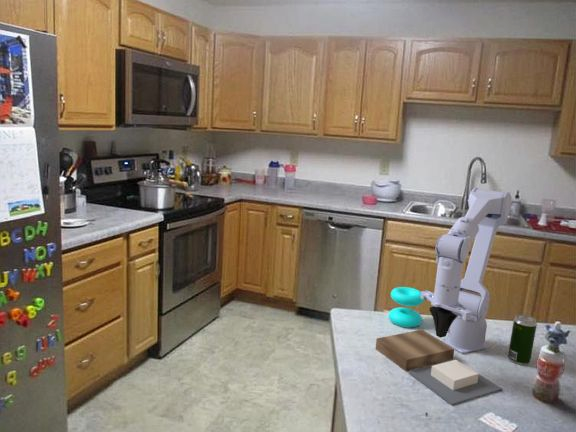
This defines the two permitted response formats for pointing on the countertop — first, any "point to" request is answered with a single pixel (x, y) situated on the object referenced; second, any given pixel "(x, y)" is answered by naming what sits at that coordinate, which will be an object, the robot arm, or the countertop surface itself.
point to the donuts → (406, 315)
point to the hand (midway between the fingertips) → (441, 335)
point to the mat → (459, 394)
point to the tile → (454, 374)
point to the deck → (414, 349)
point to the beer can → (522, 339)
